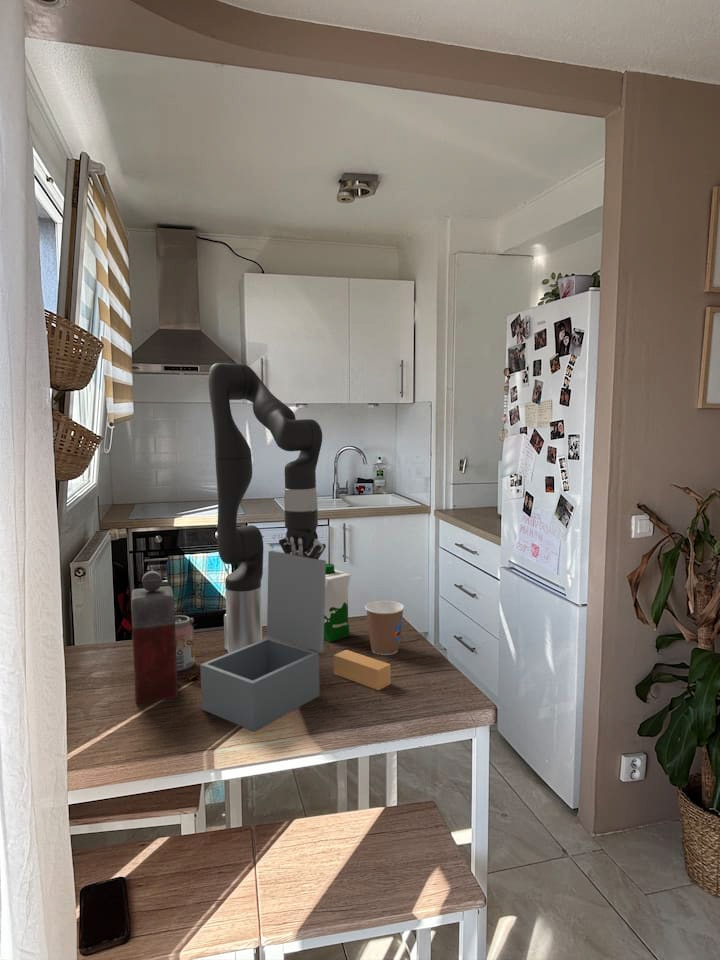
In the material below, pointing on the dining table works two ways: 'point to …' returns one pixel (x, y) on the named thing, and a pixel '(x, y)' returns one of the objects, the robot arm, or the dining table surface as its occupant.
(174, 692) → the decanter
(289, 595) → the lid
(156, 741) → the dining table surface
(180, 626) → the beverage can
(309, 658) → the box
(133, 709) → the dining table surface
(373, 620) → the coffee cup
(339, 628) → the milk carton
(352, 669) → the light orange bar
